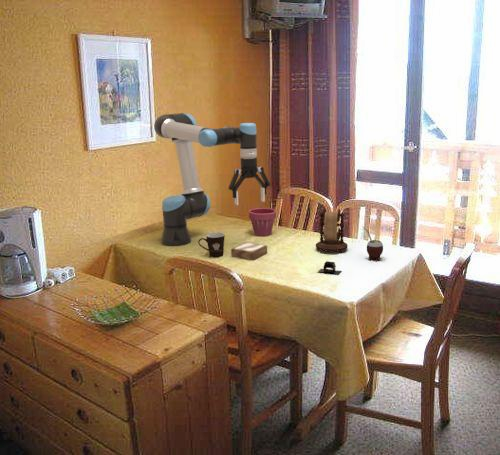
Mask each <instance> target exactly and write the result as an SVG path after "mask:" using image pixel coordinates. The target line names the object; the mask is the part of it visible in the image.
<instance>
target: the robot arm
mask: <svg viewBox="0 0 500 455" xmlns="http://www.w3.org/2000/svg"><path fill="white" fill-rule="evenodd" d="M153 127H154V128H153V129H154V132H155V133H156V135H157V136H159V137H160V138H164V139H168V140H169V139H171V142H172V143H173V144H174V145H175V148H176V154H177V161H178V166H179V171H180V177H181V181H182V188H183V191H182V192H181V194H175V195H171V196H170V195H169V196H167V197H165V198H164V199H163V200H162V206H161V210H162V218H163V220H162V221H163V231H162V235H161V244H162V243H163V244H162V245H164V244H165V245H164V246H169V247H170V246H171V247H174V246H175V247H176V246H183V245H187V244H190V243H191V242H192V237H191V234H190V231H189V229H188V226H187V224H188V223H187V220H189V219H194V218H197V217H198V218H199V217H202V216H205V215H207V214H208V212H209V211H210V210H211V198H210V197H209V196H208V194H207V193H205V191H204V189H203V188H202V187H201V185H200V179H199V174H198V170H197V169H198V168H197V162H196V158H195V152H194V147H193V146H194V145H193V143H197V144H200V145H201V146H202V147H204V148H205V147H206V148H207V147H208V148H210V147H211V148H212V147H216V146H222V145H224V146H225V145H229V144H230V145H231V144H236V145H237V144H239V145H240V146H239V147H240V150H239V152H240V155H239V156H240V168H239V169H238V168H235V169H234V171H233V172H234V174H233V175H232V178H231V180H230V183H229V186H228V187H227V188H228V190H230V191H231V192H232V198H234V205H235V206H239V191H238V189H239V187H240V186H241V185H242V183H243V182H244V181H245V179H250V178H251V179H255V180H256V181H257V182H258V184H260V186H261V187H260V201H261V202H263V203H265V202H266V198H265V197H266V196H265V195H267V189H268V187H270V186H271V183H270V181H269V180H268V176H267V175H266V173H265V170H264V167H263V166H259V167H258V158H257V157H258V147H257V135H258V134H257V133H258V132H257V131H258V130H257V125H256V123H253V122H242V123H240V124H239V127H236V126H224V127H221V128H220V127H219V128H210V127H206V126H205V127H204V126H199V125H198V124H197V122H196V119H195V118H194V116H193V115H191V114H189V113H184V112H180V113H179V112H178V113H166V114H161V115H160V116H158V117H157V118H156V119H155V121H154V123H153ZM257 173H259V174H260V176H261V178H262V179H261V178H260V176H259V175H258V174H257ZM239 175H240V176H239Z"/></svg>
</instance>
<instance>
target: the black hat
mask: <svg viewBox="0 0 500 455" xmlns="http://www.w3.org/2000/svg"><path fill="white" fill-rule="evenodd" d="M336 268H337V265H336V262H334V261H325V262H324V264H323V268H320V269H319V270H318V271H317V272H316V273H317V274H323V275H332V276H340V274H341V273H342V272H343V271H342V270H336Z"/></svg>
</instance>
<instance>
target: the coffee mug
mask: <svg viewBox="0 0 500 455" xmlns="http://www.w3.org/2000/svg"><path fill="white" fill-rule="evenodd" d="M225 234H226V233H224V232H210V233H207V234H206V235H205V237H206V238H200V239H199V240H198V246H200V247H201V248H203V249H204V250H206V251H208V253H209V257H210V258H222V257H224V250H225V236H226V235H225ZM202 240H204V241H205V242H206V244H207V248H206V247H204V246H203V245H201V243H200V242H201V241H202Z"/></svg>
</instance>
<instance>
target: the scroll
mask: <svg viewBox="0 0 500 455" xmlns="http://www.w3.org/2000/svg"><path fill="white" fill-rule="evenodd" d="M319 215H320V216H319V218H320V219H319V221H320V222H319V227H320V229H319V235H320V236H319V237H320V238H319V241H317V243H316V244H315V248H316V249H317V250H318V253H321V251H323V252H331V253H332V252H334V253H335V252H338V254H341V253H342V252H343V251H345V250H347V249H348V243H346V242H345V241H344V236H345V233H344V227H345V222H344V221H345V220H344V217H345V214H344V213H343V212H341V210H340V208H338V209H337V211H327V209H326V208H323V211H320V212H319ZM339 221H340V222H339ZM338 227H339V228H338Z"/></svg>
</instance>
